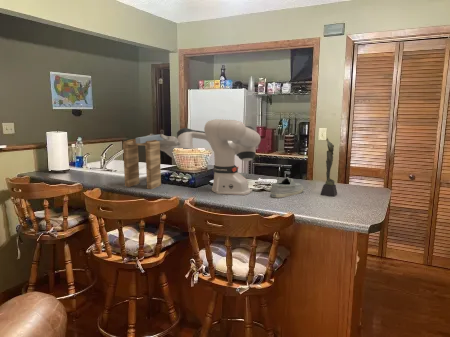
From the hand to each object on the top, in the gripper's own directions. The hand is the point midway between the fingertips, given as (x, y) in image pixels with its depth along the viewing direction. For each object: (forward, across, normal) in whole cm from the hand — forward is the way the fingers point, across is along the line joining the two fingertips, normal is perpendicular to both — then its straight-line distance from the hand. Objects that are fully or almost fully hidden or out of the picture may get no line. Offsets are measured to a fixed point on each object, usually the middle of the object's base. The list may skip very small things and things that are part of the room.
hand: (156, 134), depth 212 cm
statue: (-24, -99, -20) cm, 104 cm away
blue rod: (+4, 0, -6) cm, 7 cm away
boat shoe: (-18, -78, -24) cm, 84 cm away
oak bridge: (-7, +4, -30) cm, 31 cm away
